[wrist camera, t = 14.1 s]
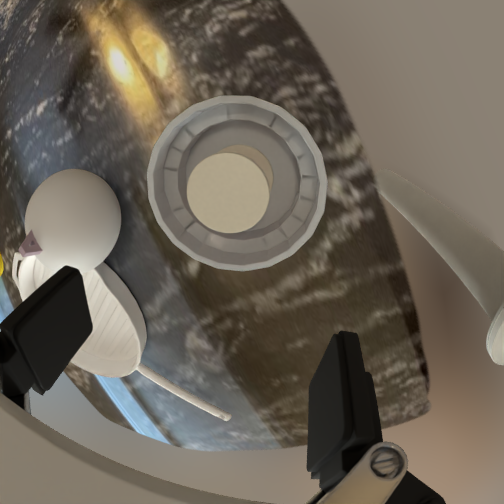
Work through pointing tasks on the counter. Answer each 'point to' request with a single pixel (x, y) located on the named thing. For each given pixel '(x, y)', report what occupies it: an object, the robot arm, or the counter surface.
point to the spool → (231, 188)
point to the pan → (108, 326)
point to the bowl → (281, 195)
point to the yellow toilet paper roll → (1, 264)
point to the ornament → (72, 221)
